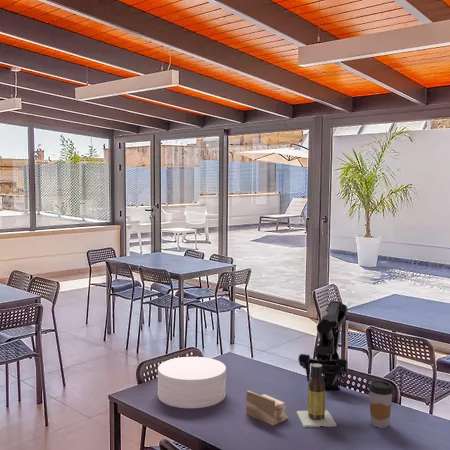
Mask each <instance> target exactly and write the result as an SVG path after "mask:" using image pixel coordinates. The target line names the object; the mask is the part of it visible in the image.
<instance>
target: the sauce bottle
mask: <svg viewBox="0 0 450 450" xmlns="http://www.w3.org/2000/svg"><path fill="white" fill-rule="evenodd" d="M310 370H311V374H310V376H311V377H310V379H309V382H308V385H307V411H308V416H309V417H310V418H311V419H314V420H321V419H324V416H325V415H324V413H325V410H326V390H325V382H324V380H323V379H322V376H323V374H322V365H321V364H310Z"/></svg>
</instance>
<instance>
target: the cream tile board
mask: <svg viewBox="0 0 450 450" xmlns="http://www.w3.org/2000/svg"><path fill="white" fill-rule="evenodd" d="M296 415H297V417H298V419H299V420H300V422H301V425H302V426H303V427H302V428H321V427H320V426H324V428H325V427H326V426H327V427H328V428H329V427H337V423H336V422H335V420H334V418H333V416H332V415H331V413H330V412H329V411H328V410H327V409H325V413H324V415H325V416H324V419H321V420H314V419H311V418H310V417H309V416H308V410H296ZM327 427H326V428H327Z"/></svg>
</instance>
